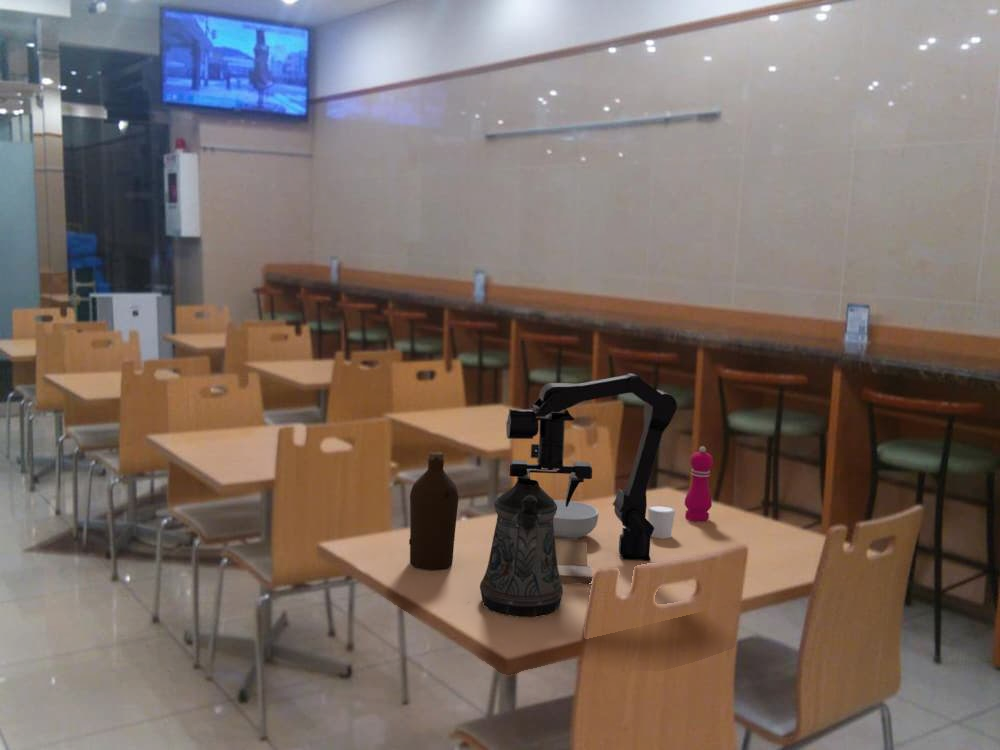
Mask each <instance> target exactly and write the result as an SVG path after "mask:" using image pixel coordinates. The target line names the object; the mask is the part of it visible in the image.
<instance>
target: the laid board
mask: <svg viewBox="0 0 1000 750" xmlns="http://www.w3.org/2000/svg"><path fill="white" fill-rule="evenodd" d="M557 566H558V572H559V577H560V581H561V584H573V583H581V584H580V585H590V584H589V583H591V581H592V578H593V579H594V575H593V573H592V569H591V566H590V565H589V566H575V565H557Z"/></svg>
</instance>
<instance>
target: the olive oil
mask: <svg viewBox="0 0 1000 750" xmlns="http://www.w3.org/2000/svg"><path fill="white" fill-rule="evenodd" d="M428 456H429V458H428V459H427V460H428V461H427V462H428V463H427V464H428V465H427V470H426V471H425V472H424V473H423V474H422V475H420V477H419V478H418V479H417V480H416V481H415V482H414V483H413V485H412V487H411V490H410V492H409V493H410V494H409V540H408V541H409V543H408V545H409V563H410V565H411V566H412V567H414V568H417V569H419V570H426V571H441V570H442V571H443V570H446V569H448V568H451V567H452V565H453V562H454V561H453V559H454V547H455V537H456V536H455V535H456V528H457V527H456V525H457V518H458V507H459V498H460V496H459V491H458V487H457V485H456V484H455V483H454V481H453V479H451V478H450V476H449V475H448V474H447V472H446V471H445V470H444V463H445V459H444V452H442V451H436V450H435V451H429V454H428Z"/></svg>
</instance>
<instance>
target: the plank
mask: <svg viewBox="0 0 1000 750" xmlns="http://www.w3.org/2000/svg"><path fill="white" fill-rule="evenodd" d="M587 545H588V544H587V539H556V538H555V549H556V558H557V565H575V566H588V548H587Z"/></svg>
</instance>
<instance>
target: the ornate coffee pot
mask: <svg viewBox="0 0 1000 750" xmlns="http://www.w3.org/2000/svg"><path fill="white" fill-rule="evenodd" d="M554 500H555V499H553V498H552V497H551V496H550V495H549V494H548V493H547V492H546V491H545V490H544V489H543V488H542V487H541V486H540V484H539V481H538V480H536V479H532V478H530V479H520V480H517V479H516V483H515V484H514V486H512V487H511V488H509V489H508V490H506V491H505V492H503V493H502V494H501V495H499V496H498V497H497V499H495V500H494V501H495V502H494V503H493V504H494V510H495V513H496V514H497V517H496V523H495V528H494V532H493V537H492V543H491V548H490V552H489V558H488V564H487V567H486V570H485V573H484V575H483V578H482V579H481V582H480V585H479V589H480V594H481V601H482V604H483V607H485V606H486V607H485V608H487V609H488V610H489V609H490V611H491V610H492V611H491V612H494V611H495V612H494V613H497V612H498V613H497V614H500V613H501V614H500V615H502V614H504V615H503V616H509V615H511V617H516V616H517V618H535V617H536V616H538V617H543V615H545V616H548V615H551V614H553V613H555V611H556V610H557V611H558V609H559V608H560V605H561V601H562V598H563V593H564V588H563V583H561V581H560V577H559V572H558V566H557V558H556V549H555V538H554V526H553V518H554V516H555V514H556V511H557V505H556V503H555V502H554ZM557 611H556V612H557ZM550 613H551V614H550ZM547 614H548V615H547Z"/></svg>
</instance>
